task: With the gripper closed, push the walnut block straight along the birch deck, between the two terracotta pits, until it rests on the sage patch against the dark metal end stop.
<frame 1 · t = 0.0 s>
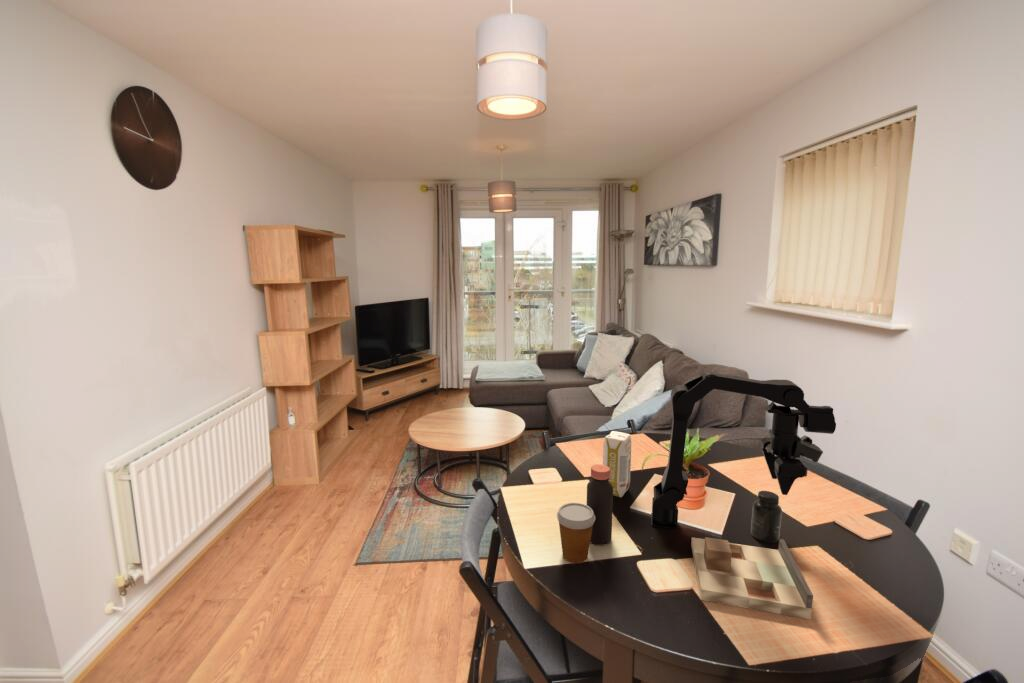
hand: (779, 486, 118), 15 cm above the table, tool pointing down, fingers open, 9 cm apart
juice carton: (615, 491, 146), on the table
black water bottle: (598, 539, 121), on the table
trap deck: (743, 578, 105), on the table
disposable coffee cup: (575, 556, 114), on the table
supplement bottle: (764, 537, 121), on the table
walnut block: (716, 564, 106), point 2 cm above the table, touching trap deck
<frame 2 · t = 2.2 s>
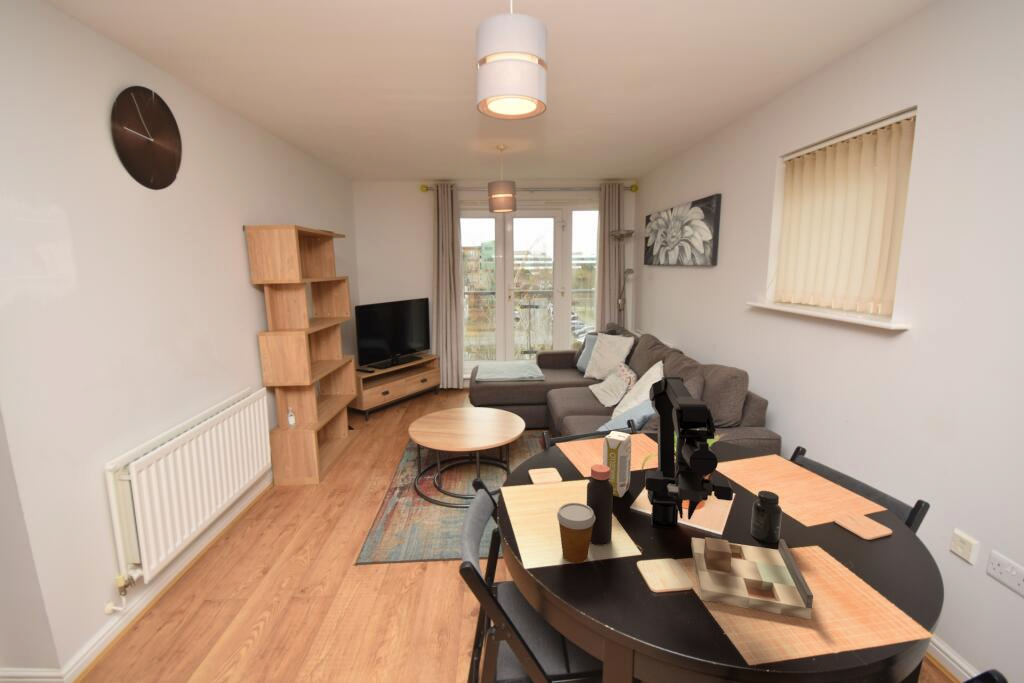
hand: (685, 518, 106), 13 cm above the table, tool pointing down, fingers closed
nothing on the table moved.
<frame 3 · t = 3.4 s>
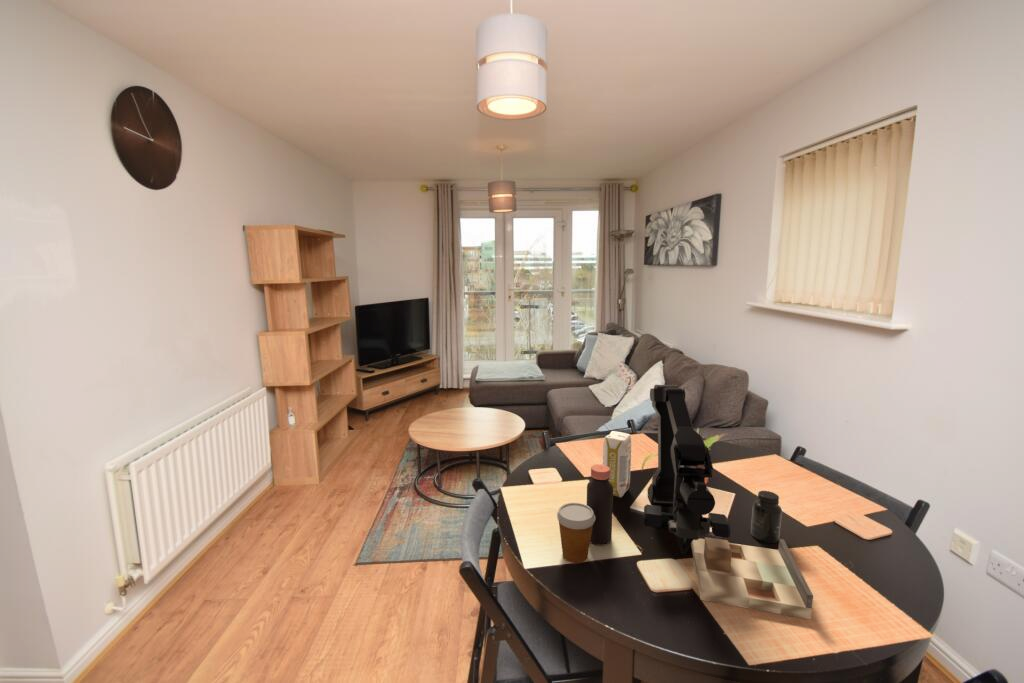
hand: (683, 553, 108), 4 cm above the table, tool pointing down, fingers closed
nothing on the table moved.
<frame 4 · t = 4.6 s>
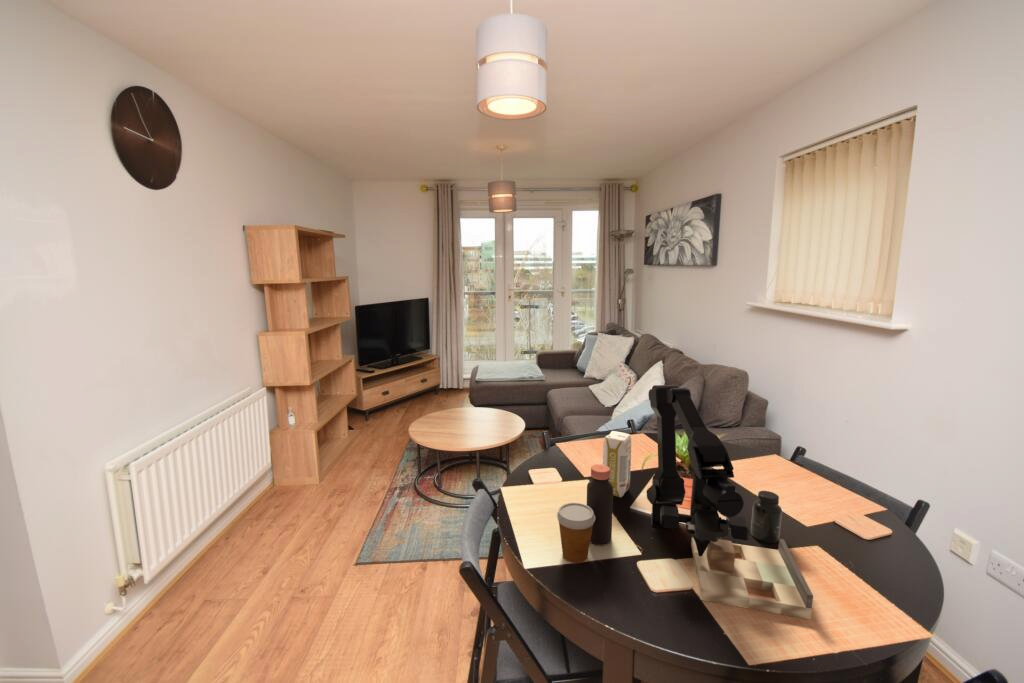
hand: (700, 555, 107), 4 cm above the table, tool pointing down, fingers closed
walnut block: (719, 564, 106), point 3 cm above the table, touching gripper, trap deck
everything else where it was.
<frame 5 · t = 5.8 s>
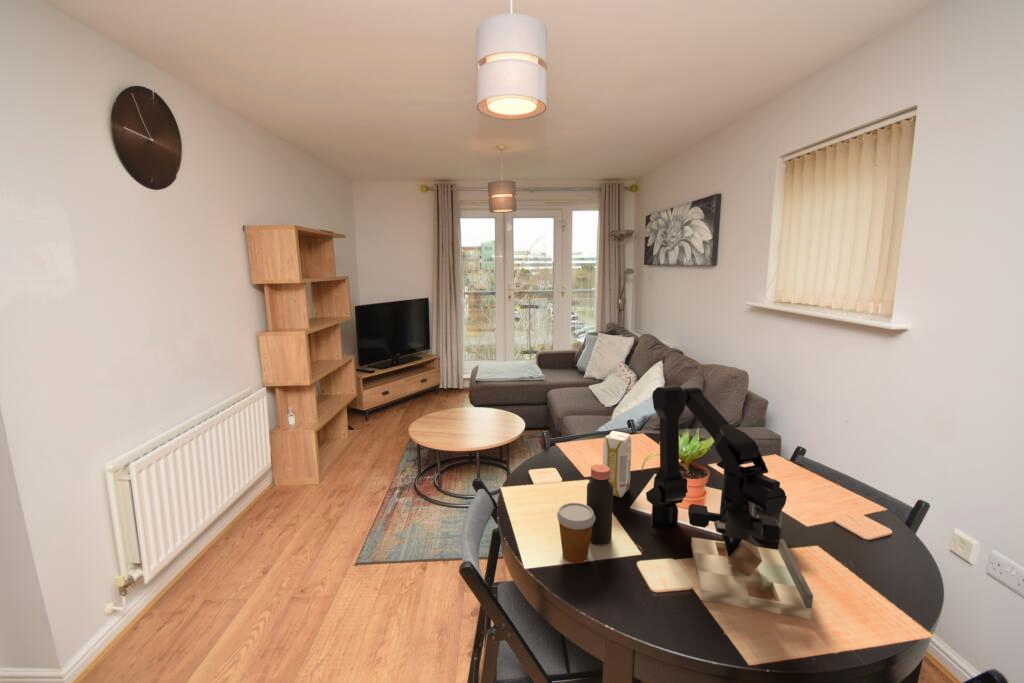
hand: (729, 555, 105), 5 cm above the table, tool pointing down, fingers closed, pressing on walnut block
walnut block: (736, 563, 105), point 4 cm above the table, tilted 28°, touching gripper, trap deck
everything else where it was.
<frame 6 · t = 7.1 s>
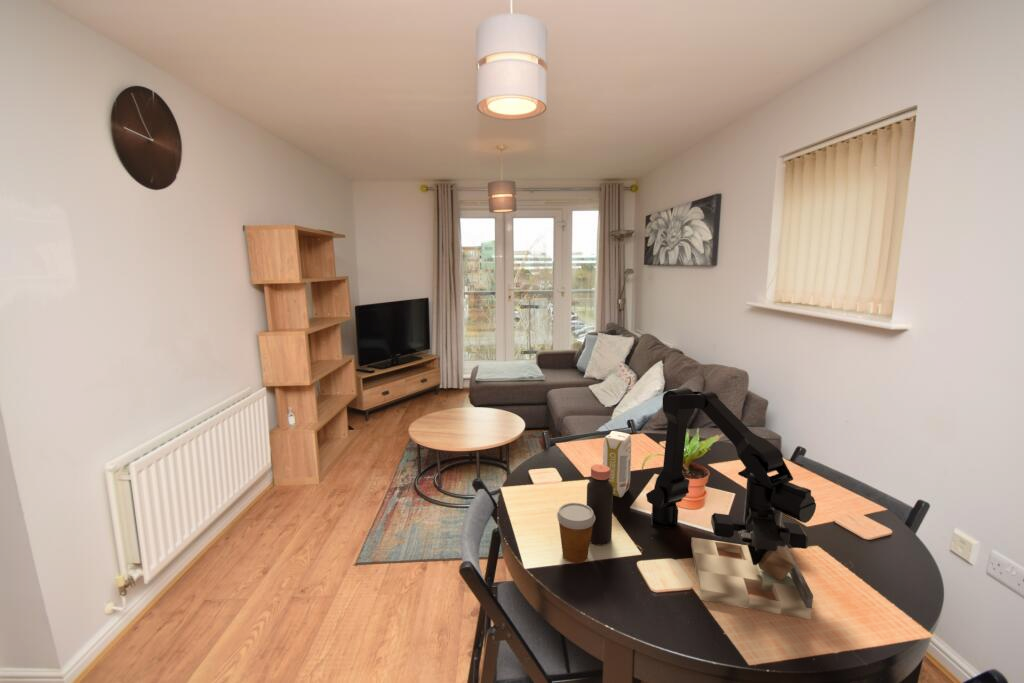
hand: (754, 564, 104), 4 cm above the table, tool pointing down, fingers closed
walnut block: (767, 567, 103), point 4 cm above the table, tilted 27°, touching gripper, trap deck
everything else where it was.
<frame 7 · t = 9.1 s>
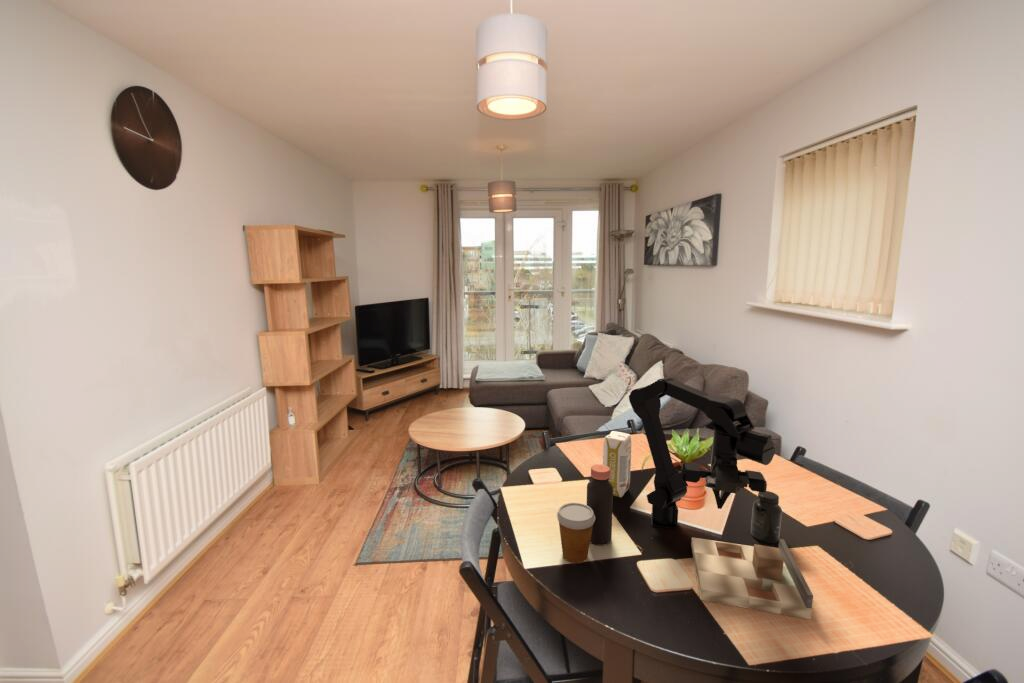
hand: (719, 507, 114), 12 cm above the table, tool pointing down, fingers closed
walnut block: (766, 572, 103), point 2 cm above the table, touching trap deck
everything else where it was.
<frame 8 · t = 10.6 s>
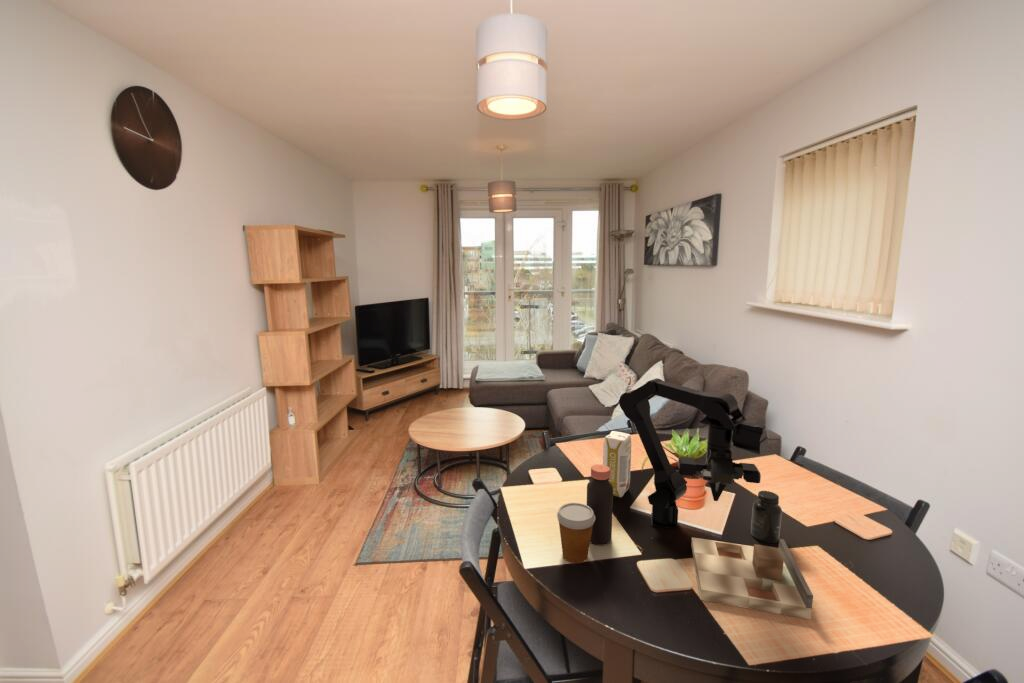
hand: (715, 500, 117), 12 cm above the table, tool pointing down, fingers closed
nothing on the table moved.
at the end: walnut block inside the target area on the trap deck (1.2 cm from its centre), point 2.5 cm above the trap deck's base; walnut block tilted 0°; the gripper is holding nothing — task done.
